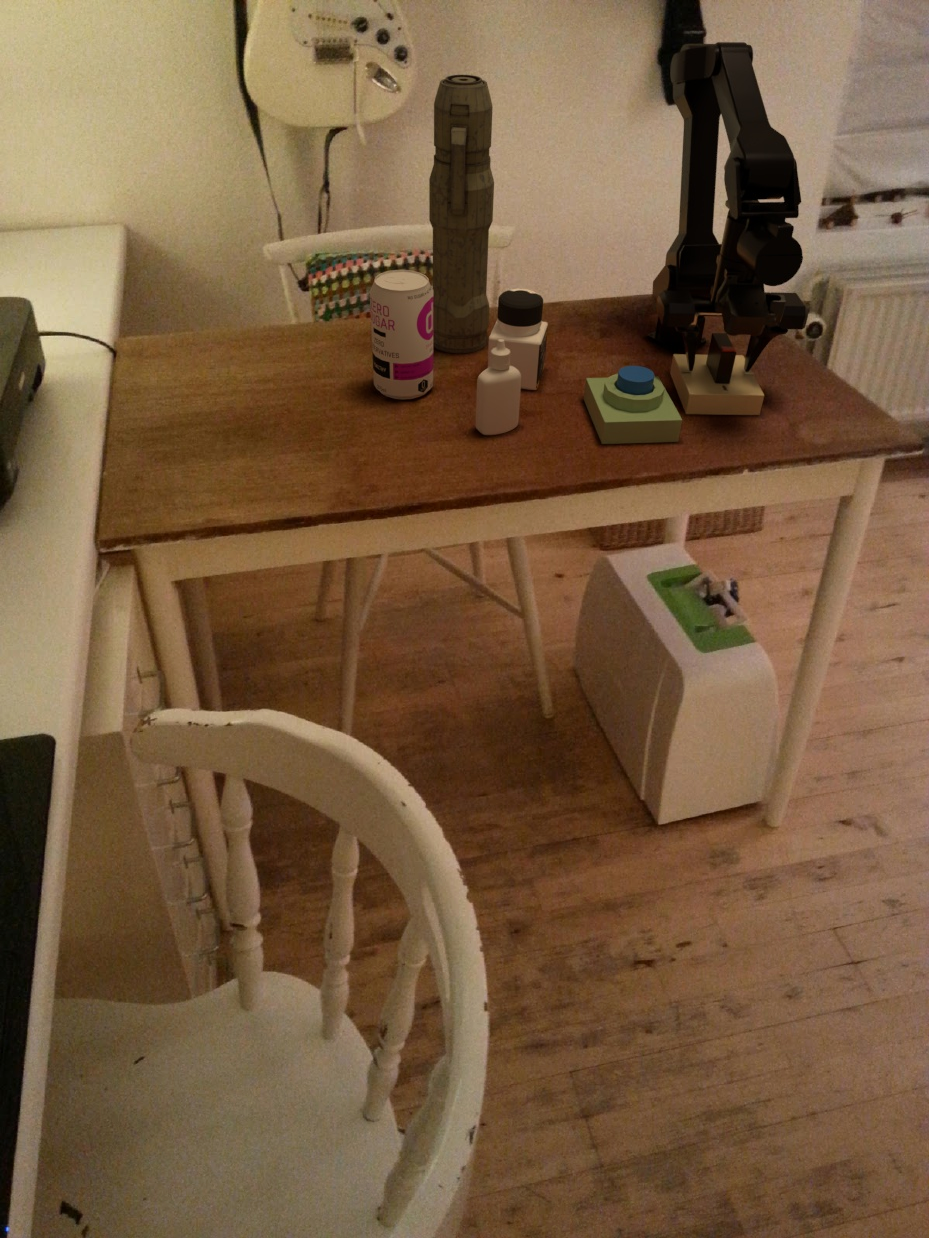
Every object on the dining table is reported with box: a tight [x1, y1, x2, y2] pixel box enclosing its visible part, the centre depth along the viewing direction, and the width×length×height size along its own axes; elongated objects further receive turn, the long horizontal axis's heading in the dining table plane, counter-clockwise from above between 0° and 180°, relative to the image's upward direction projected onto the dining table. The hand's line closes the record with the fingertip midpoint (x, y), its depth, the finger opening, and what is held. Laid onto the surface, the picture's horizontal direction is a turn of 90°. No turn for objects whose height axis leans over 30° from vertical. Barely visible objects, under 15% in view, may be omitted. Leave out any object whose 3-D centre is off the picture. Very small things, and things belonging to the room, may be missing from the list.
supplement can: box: [369, 269, 434, 400], centre depth 126 cm, size 8×8×15 cm
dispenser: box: [583, 373, 683, 445], centre depth 124 cm, size 12×10×5 cm
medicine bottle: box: [487, 288, 549, 391], centre depth 131 cm, size 7×7×12 cm
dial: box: [706, 332, 737, 384], centre depth 129 cm, size 6×2×5 cm, turn 1°
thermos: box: [428, 74, 495, 354], centre depth 132 cm, size 9×12×35 cm
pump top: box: [616, 365, 655, 395], centre depth 122 cm, size 5×5×2 cm
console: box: [669, 353, 765, 416], centre depth 131 cm, size 12×10×3 cm
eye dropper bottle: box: [474, 339, 522, 436], centre depth 120 cm, size 4×6×12 cm
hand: (718, 370), depth 130 cm, fingers open, 7 cm apart
